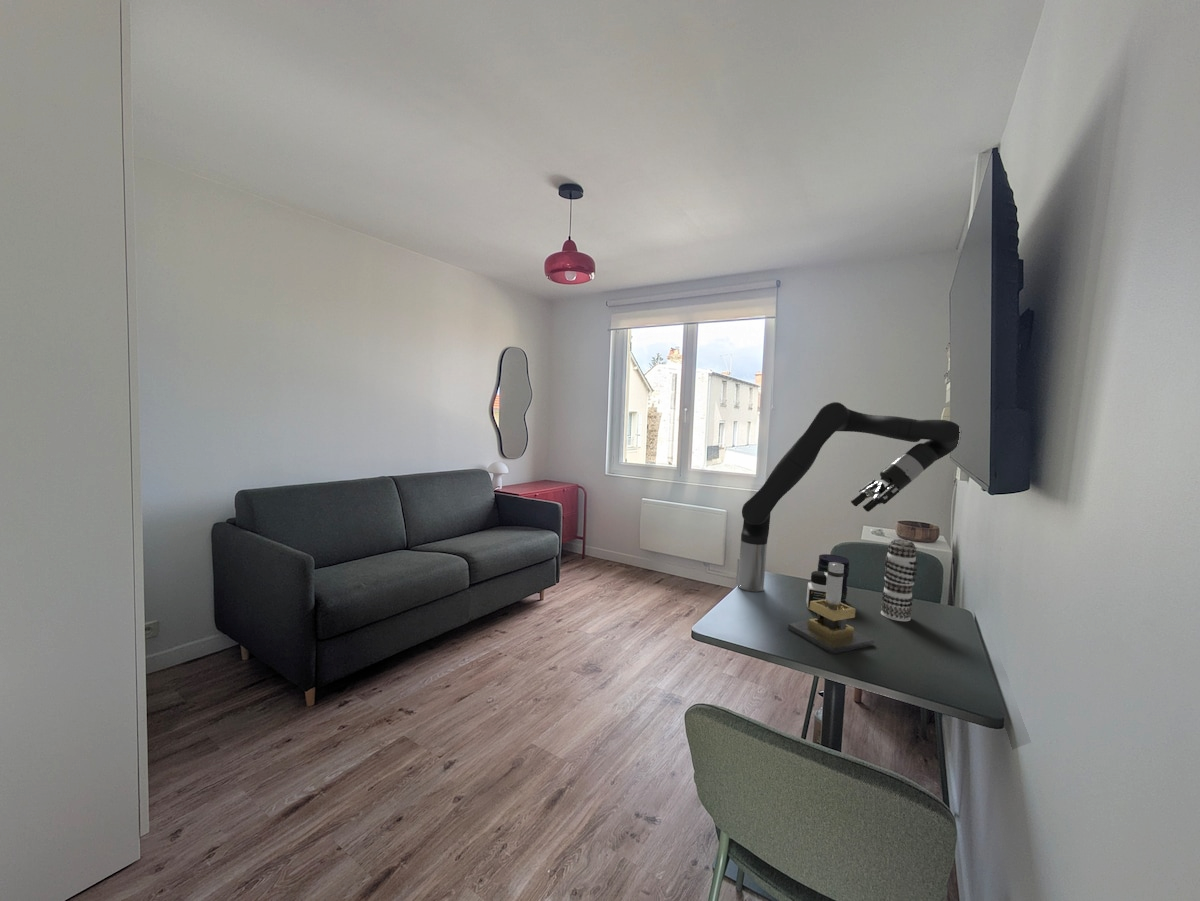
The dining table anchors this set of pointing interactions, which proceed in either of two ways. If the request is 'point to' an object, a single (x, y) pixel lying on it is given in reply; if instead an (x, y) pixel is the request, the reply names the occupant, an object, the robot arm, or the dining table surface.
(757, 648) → the dining table surface
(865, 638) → the collar stand
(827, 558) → the storage jar
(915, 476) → the robot arm
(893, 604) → the decorative candle
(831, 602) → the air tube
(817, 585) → the medicine bottle
